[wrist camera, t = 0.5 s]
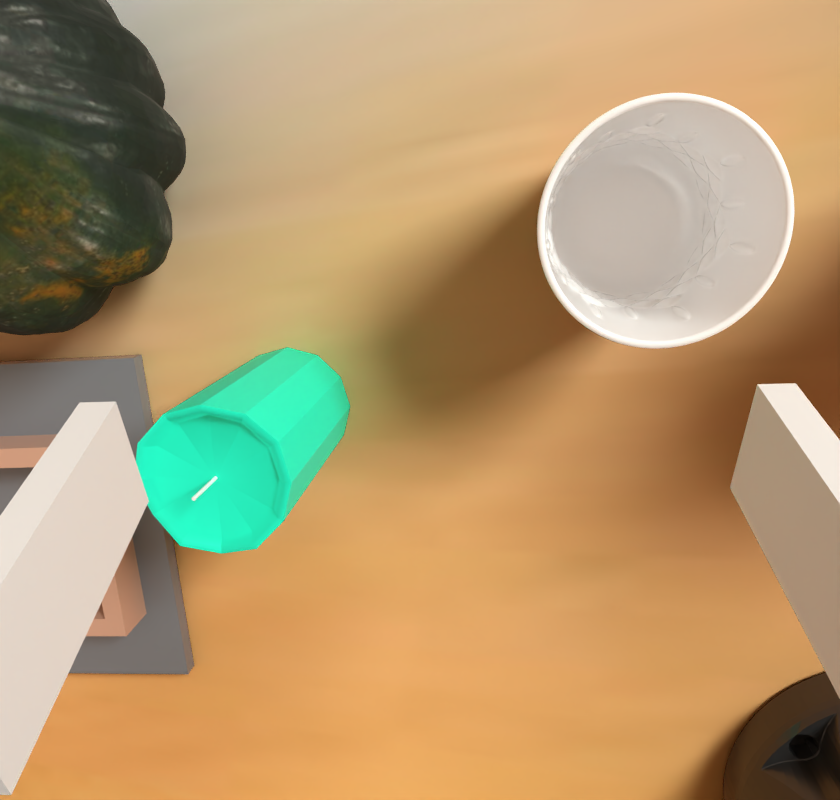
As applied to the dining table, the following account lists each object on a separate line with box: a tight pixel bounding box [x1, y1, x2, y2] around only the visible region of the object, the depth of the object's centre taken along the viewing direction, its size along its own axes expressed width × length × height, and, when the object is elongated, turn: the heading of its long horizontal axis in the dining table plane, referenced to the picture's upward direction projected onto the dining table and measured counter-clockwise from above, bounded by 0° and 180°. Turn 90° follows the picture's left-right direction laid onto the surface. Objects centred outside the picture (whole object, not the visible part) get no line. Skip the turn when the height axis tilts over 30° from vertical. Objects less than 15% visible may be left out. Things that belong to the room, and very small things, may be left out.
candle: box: [136, 347, 350, 553], centre depth 31 cm, size 6×6×12 cm
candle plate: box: [0, 355, 194, 674], centre depth 39 cm, size 18×14×3 cm
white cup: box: [537, 93, 794, 349], centre depth 28 cm, size 8×8×10 cm
